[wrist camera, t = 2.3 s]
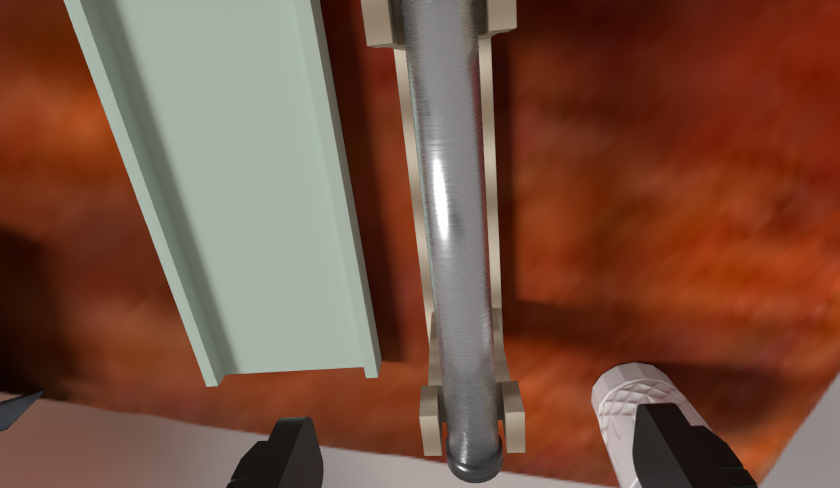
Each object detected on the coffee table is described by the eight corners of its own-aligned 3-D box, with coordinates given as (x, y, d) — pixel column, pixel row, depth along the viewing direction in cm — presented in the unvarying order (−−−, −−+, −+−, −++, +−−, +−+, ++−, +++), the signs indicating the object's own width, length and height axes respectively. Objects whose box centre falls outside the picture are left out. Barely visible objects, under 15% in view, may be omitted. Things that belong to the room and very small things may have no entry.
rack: (389, -9, 27) (349, -60, 16) (485, -22, 27) (517, -84, 15) (430, 338, 37) (424, 462, 26) (501, 333, 37) (527, 458, 25)
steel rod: (390, -77, 18) (378, -105, 15) (473, -89, 17) (480, -121, 14) (447, 437, 28) (447, 484, 25) (499, 435, 28) (506, 482, 25)
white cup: (587, 356, 37) (634, 453, 28) (683, 354, 37) (763, 453, 27) (580, 426, 40) (621, 535, 31) (669, 425, 40) (737, 536, 30)
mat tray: (88, -5, 28) (59, -10, 26) (313, -37, 27) (302, -45, 25) (219, 369, 40) (206, 386, 38) (381, 360, 38) (377, 377, 36)
